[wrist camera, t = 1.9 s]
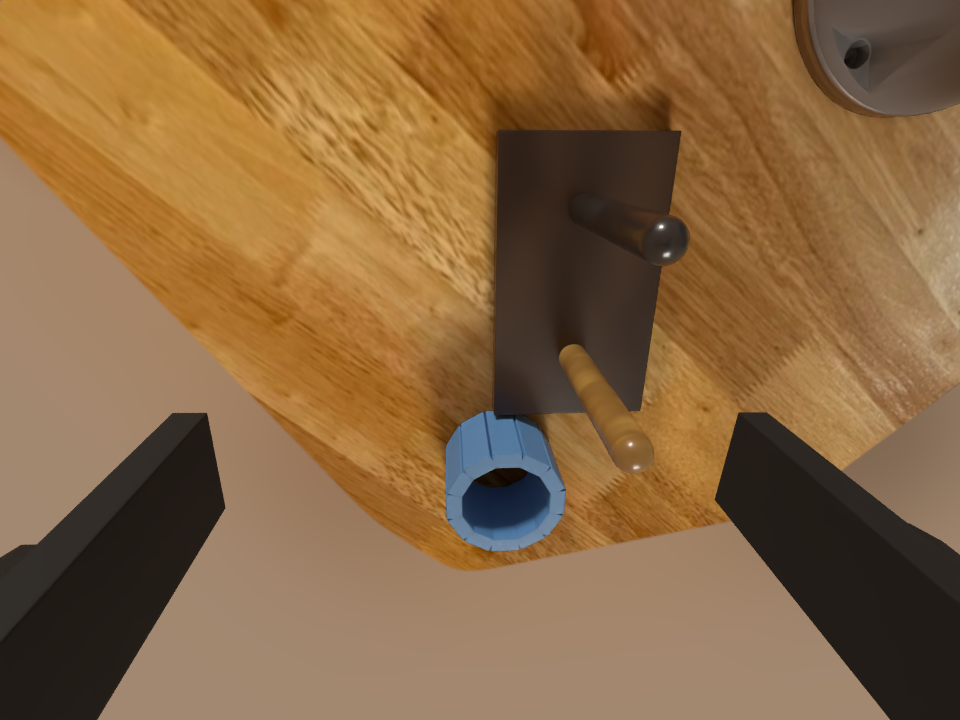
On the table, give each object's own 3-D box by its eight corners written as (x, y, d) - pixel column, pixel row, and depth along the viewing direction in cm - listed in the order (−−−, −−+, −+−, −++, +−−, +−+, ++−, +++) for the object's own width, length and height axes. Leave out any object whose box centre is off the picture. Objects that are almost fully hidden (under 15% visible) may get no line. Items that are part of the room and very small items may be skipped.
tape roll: (551, 408, 38) (569, 452, 32) (545, 495, 41) (561, 548, 35) (444, 411, 37) (444, 456, 32) (447, 499, 40) (447, 553, 35)
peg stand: (670, 131, 31) (844, 114, 17) (633, 401, 38) (735, 535, 25) (496, 130, 30) (537, 112, 17) (492, 405, 37) (518, 545, 24)
